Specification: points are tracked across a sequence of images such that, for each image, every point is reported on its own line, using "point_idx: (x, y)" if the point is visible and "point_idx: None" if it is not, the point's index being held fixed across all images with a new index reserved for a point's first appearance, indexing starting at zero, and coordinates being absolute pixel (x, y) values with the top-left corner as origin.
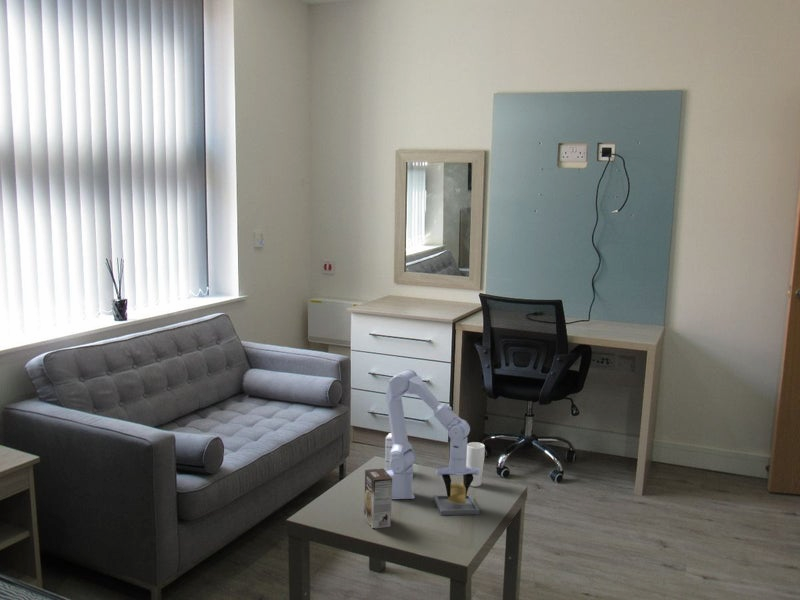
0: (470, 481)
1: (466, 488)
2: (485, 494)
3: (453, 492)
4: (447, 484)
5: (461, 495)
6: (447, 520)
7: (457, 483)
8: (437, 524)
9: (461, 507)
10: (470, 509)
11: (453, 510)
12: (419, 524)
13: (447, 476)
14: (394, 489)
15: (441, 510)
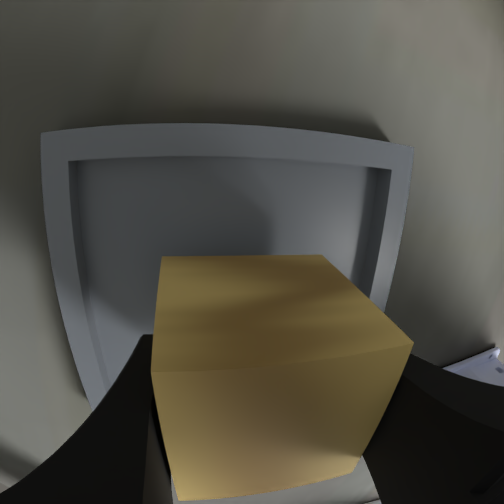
0: (39, 497)
1: (134, 398)
2: (24, 430)
3: (353, 314)
4: (472, 389)
5: (219, 297)
6: (369, 47)
7: (250, 487)
8: (433, 23)
9: (195, 247)
10: (129, 136)
11: (317, 131)
12: (499, 68)
13: (502, 491)
14: (501, 383)
15: (410, 153)
